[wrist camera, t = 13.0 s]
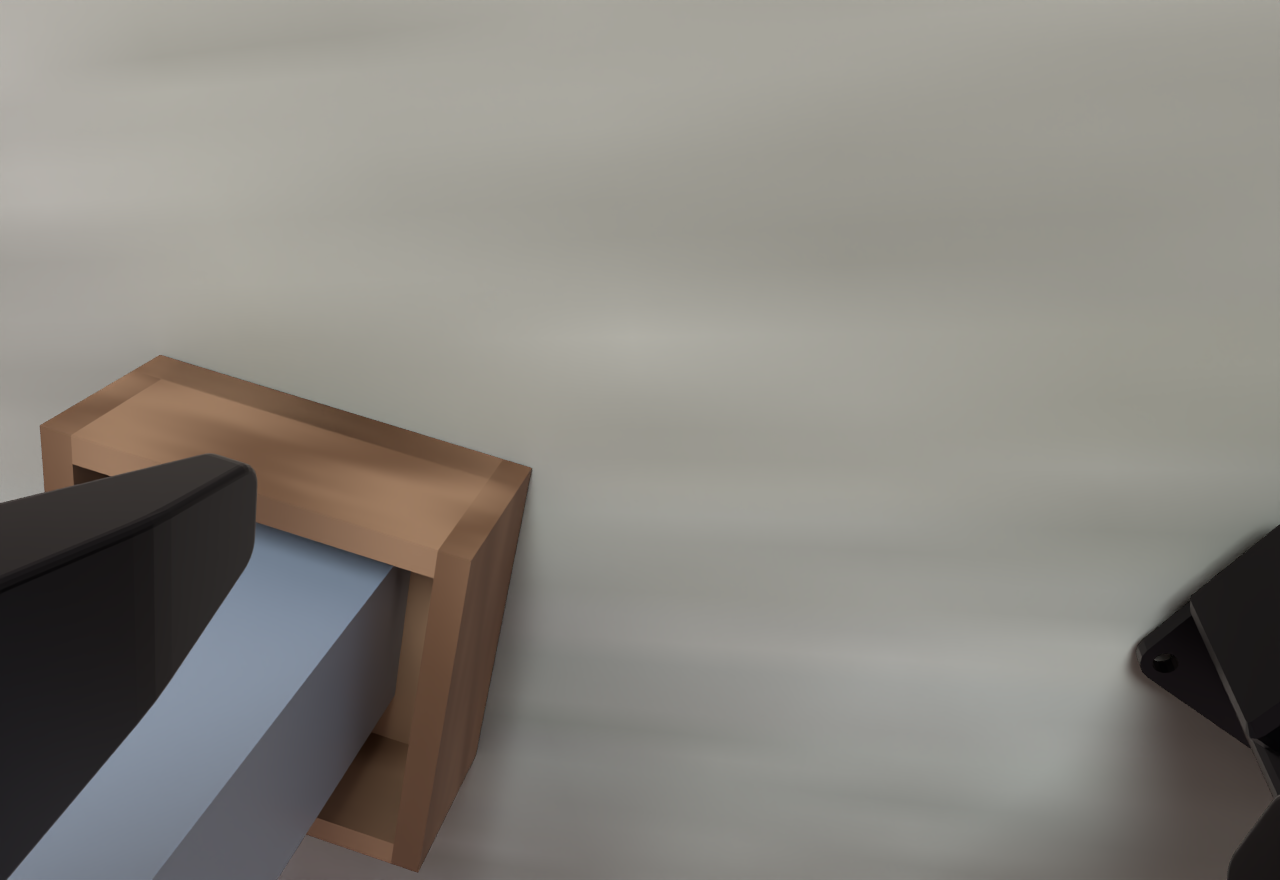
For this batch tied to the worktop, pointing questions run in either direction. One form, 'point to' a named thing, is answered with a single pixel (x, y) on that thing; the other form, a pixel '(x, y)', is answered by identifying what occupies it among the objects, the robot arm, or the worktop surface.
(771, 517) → the worktop surface
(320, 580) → the small plastic crate
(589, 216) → the worktop surface
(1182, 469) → the worktop surface
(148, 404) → the wooden crate
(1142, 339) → the worktop surface
